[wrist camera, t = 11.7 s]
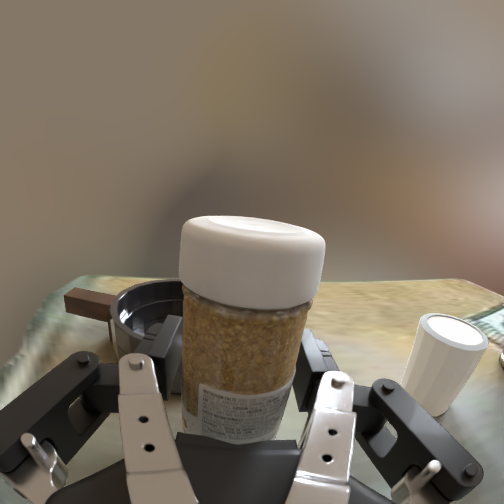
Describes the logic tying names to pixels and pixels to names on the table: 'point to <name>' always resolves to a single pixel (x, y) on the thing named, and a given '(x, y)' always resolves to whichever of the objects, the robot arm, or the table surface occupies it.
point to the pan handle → (89, 305)
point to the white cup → (442, 360)
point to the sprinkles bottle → (243, 322)
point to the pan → (144, 315)
